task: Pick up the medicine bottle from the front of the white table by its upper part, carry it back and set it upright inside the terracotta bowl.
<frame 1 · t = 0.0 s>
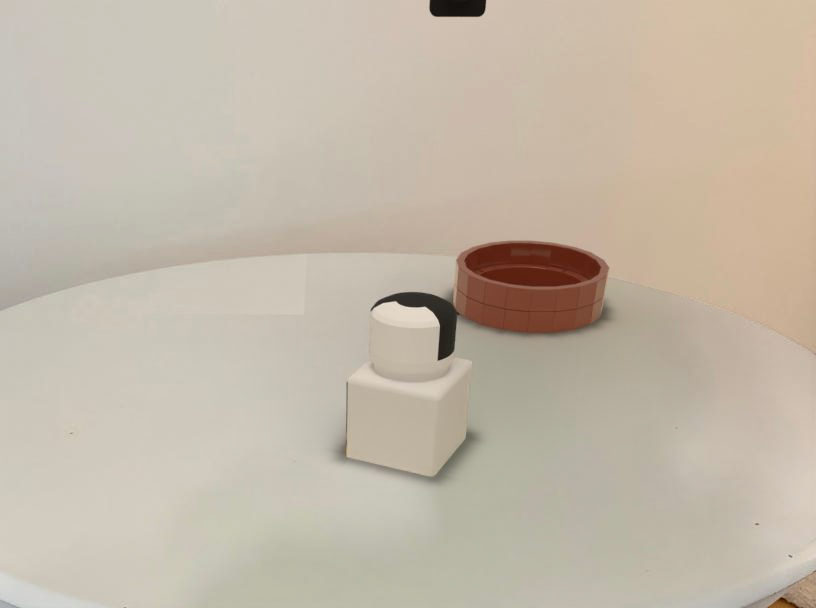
hand: (448, 5, 61), 29 cm above the table, tool pointing down, fingers open, 9 cm apart
medicine bottle: (406, 459, 76), on the table
bowl: (525, 314, 99), on the table
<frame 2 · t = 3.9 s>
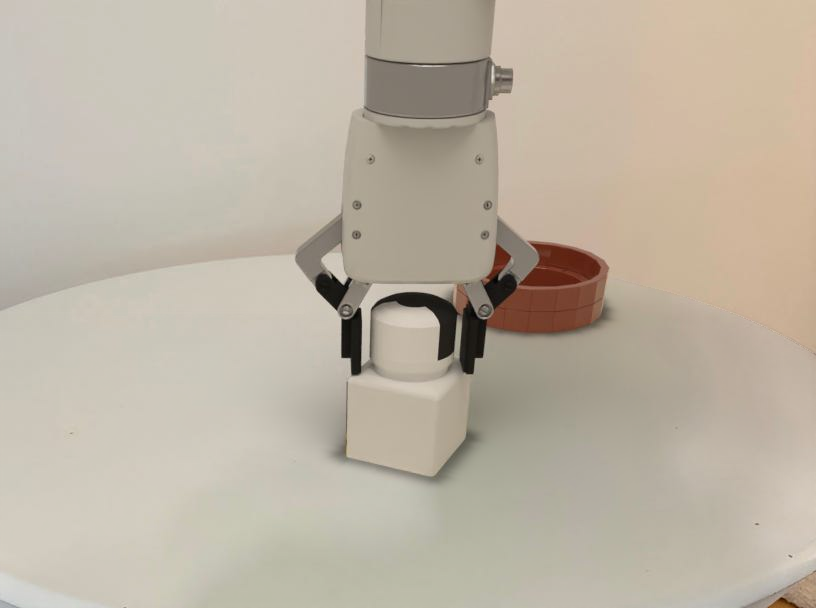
hand: (410, 365, 71), 7 cm above the table, tool pointing down, fingers closed on medicine bottle, 7 cm apart
medicine bottle: (405, 459, 76), on the table, touching gripper
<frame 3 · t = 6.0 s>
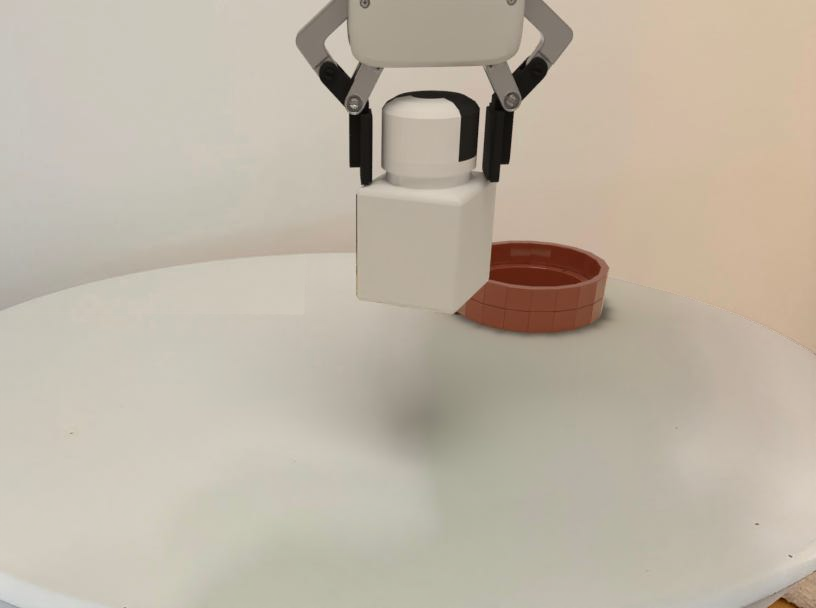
hand: (428, 176, 63), 20 cm above the table, tool pointing down, fingers closed on medicine bottle, 7 cm apart
medicine bottle: (423, 294, 68), point 12 cm above the table, touching gripper
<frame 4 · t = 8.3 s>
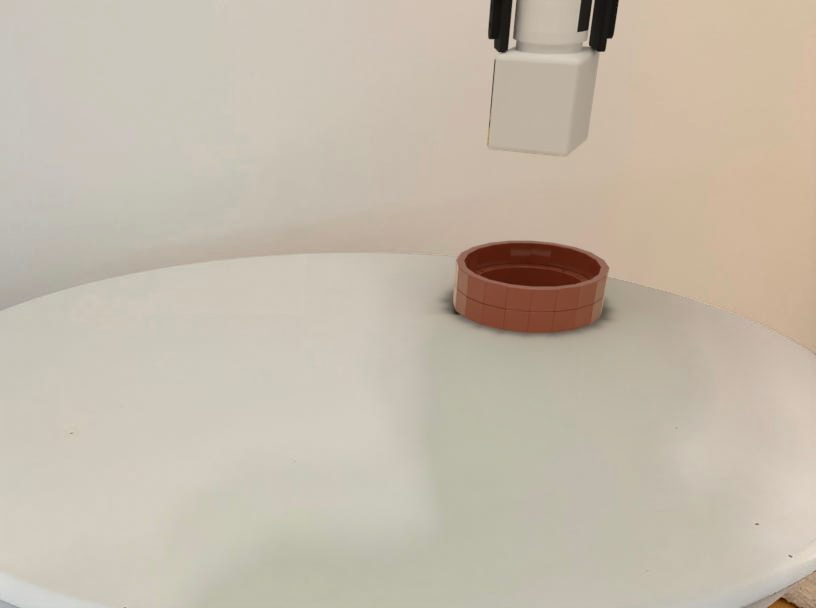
hand: (548, 48, 81), 24 cm above the table, tool pointing down, fingers closed on medicine bottle, 7 cm apart
medicine bottle: (537, 147, 86), point 16 cm above the table, touching gripper
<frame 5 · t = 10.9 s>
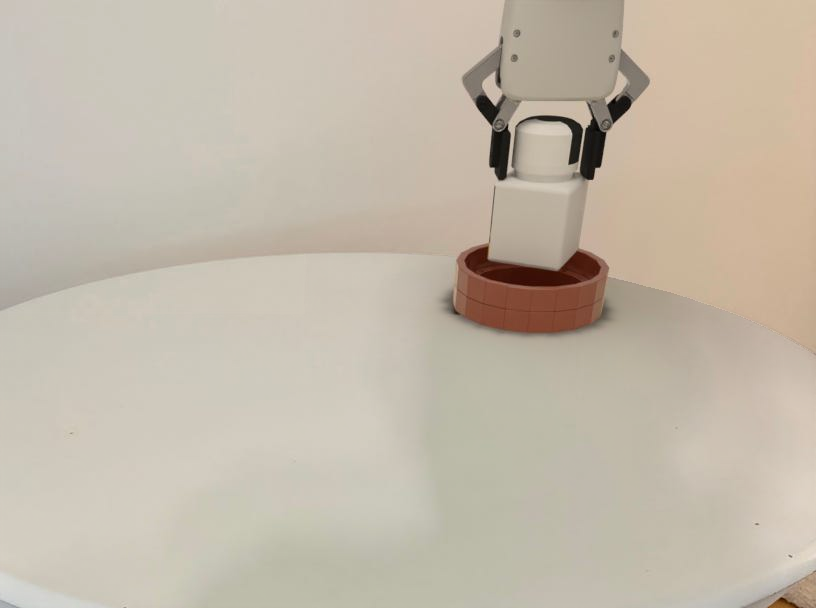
hand: (543, 175, 91), 13 cm above the table, tool pointing down, fingers closed on medicine bottle, 7 cm apart
medicine bottle: (532, 258, 96), point 5 cm above the table, touching gripper
when the fingers open (8 cm above the table, at t = 12.7 s): medicine bottle stays where it is, resting on bowl.
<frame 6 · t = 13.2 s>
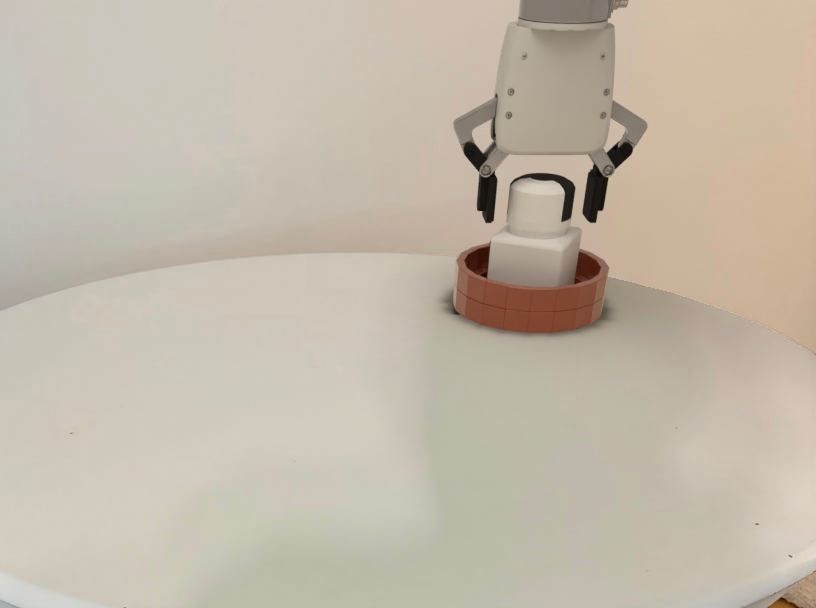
hand: (538, 219, 93), 9 cm above the table, tool pointing down, fingers open, 9 cm apart
medicine bottle: (527, 308, 99), point 1 cm above the table, touching bowl
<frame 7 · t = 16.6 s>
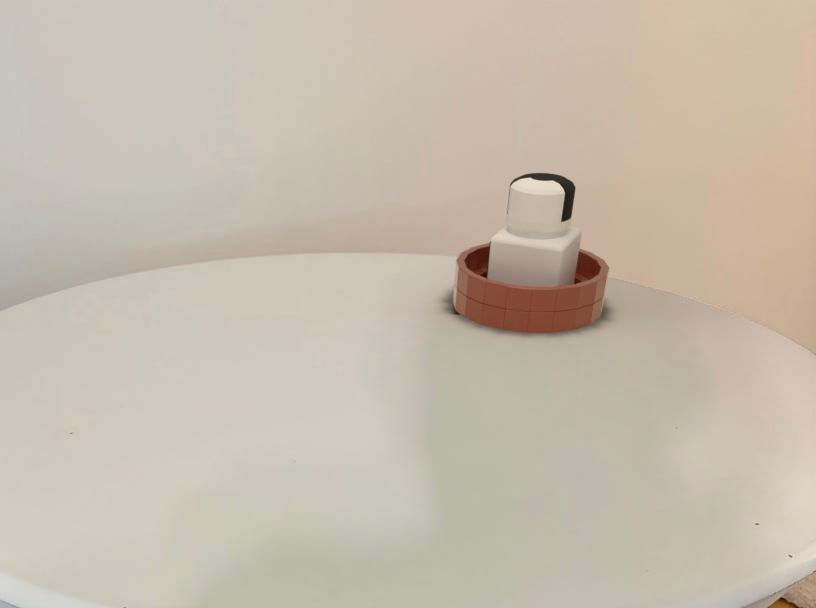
nothing on the table moved.
at the end: medicine bottle inside the target area in the bowl (0.1 cm from its centre), point 0.6 cm above the bowl's base; medicine bottle tilted 0°; the gripper is holding nothing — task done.
